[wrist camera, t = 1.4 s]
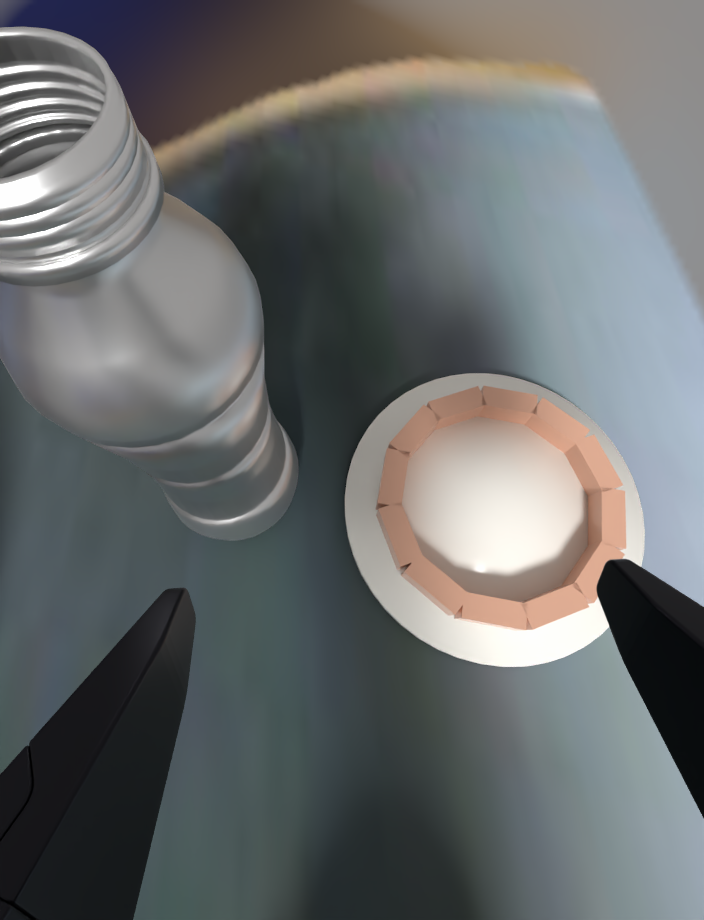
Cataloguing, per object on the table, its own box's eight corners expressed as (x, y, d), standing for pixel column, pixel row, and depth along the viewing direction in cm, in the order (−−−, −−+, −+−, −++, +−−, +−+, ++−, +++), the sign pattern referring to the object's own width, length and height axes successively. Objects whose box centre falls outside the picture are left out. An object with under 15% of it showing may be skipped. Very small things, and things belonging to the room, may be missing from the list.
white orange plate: (533, 742, 22) (554, 753, 20) (283, 522, 25) (278, 513, 23) (686, 493, 26) (715, 481, 24) (457, 334, 30) (466, 311, 28)
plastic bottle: (160, 521, 25) (-372, 189, 6) (220, 415, 27) (-41, -63, 8) (270, 568, 24) (41, 353, 6) (321, 456, 27) (283, 32, 8)
